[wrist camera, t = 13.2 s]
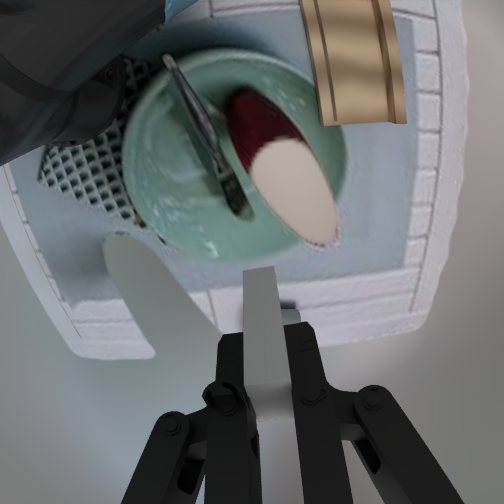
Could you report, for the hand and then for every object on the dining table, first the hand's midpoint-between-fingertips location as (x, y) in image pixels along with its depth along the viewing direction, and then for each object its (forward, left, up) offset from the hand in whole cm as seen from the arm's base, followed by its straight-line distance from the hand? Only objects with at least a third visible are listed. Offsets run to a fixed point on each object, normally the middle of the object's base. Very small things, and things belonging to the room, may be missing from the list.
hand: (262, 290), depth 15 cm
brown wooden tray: (-3, +21, -24) cm, 32 cm away
